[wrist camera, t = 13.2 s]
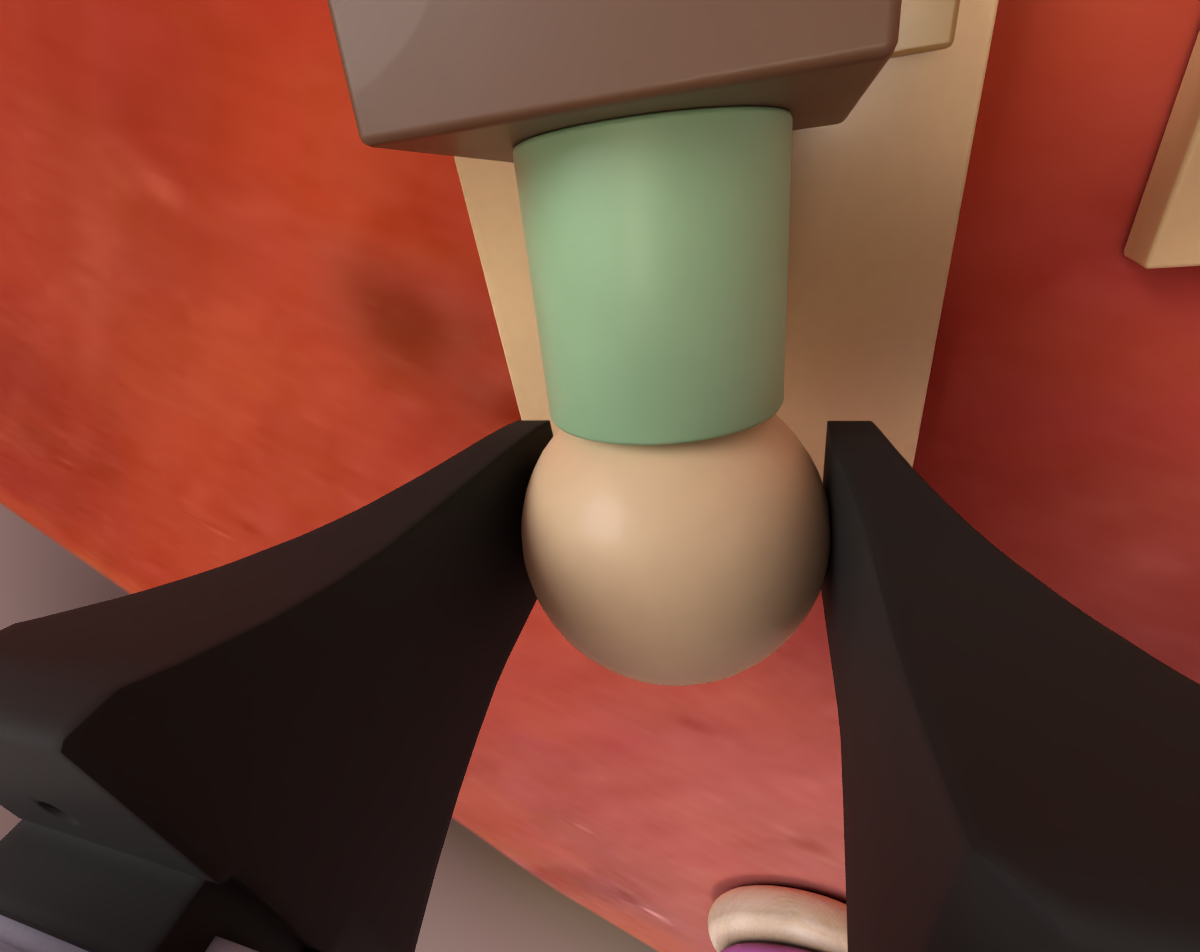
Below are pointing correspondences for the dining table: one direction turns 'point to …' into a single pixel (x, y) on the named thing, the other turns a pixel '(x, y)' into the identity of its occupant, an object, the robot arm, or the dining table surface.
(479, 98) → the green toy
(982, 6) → the thin cream rectangular board
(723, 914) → the stacking toy
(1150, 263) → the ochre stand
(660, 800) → the dining table surface
